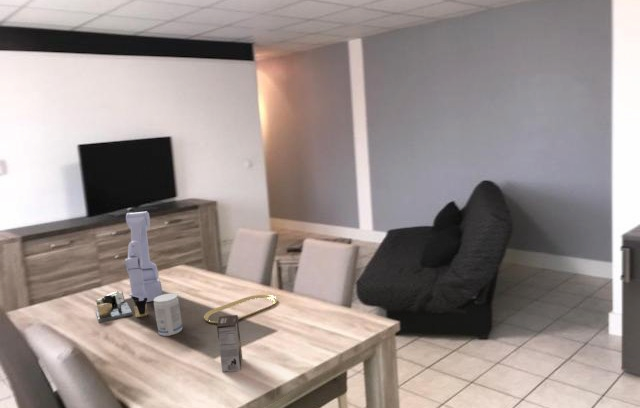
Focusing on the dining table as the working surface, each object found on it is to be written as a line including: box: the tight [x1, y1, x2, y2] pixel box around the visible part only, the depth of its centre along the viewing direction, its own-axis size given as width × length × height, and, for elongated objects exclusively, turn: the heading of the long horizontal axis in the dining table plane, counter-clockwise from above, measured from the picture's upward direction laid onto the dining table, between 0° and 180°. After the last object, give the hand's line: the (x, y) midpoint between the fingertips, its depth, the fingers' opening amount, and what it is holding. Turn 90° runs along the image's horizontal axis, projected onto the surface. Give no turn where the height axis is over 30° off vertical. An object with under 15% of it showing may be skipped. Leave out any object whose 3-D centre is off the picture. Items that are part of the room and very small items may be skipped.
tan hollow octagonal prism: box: [133, 303, 149, 318], centre depth 228 cm, size 5×5×5 cm
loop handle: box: [203, 294, 278, 325], centre depth 225 cm, size 19×35×2 cm, turn 135°
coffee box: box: [216, 314, 243, 373], centre depth 171 cm, size 9×6×16 cm
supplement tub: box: [153, 293, 183, 337], centre depth 205 cm, size 10×10×15 cm
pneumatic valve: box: [95, 291, 125, 307], centre depth 244 cm, size 6×12×12 cm
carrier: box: [94, 301, 133, 323], centre depth 233 cm, size 14×16×7 cm
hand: (141, 311), depth 229 cm, fingers closed on tan hollow octagonal prism, 5 cm apart
